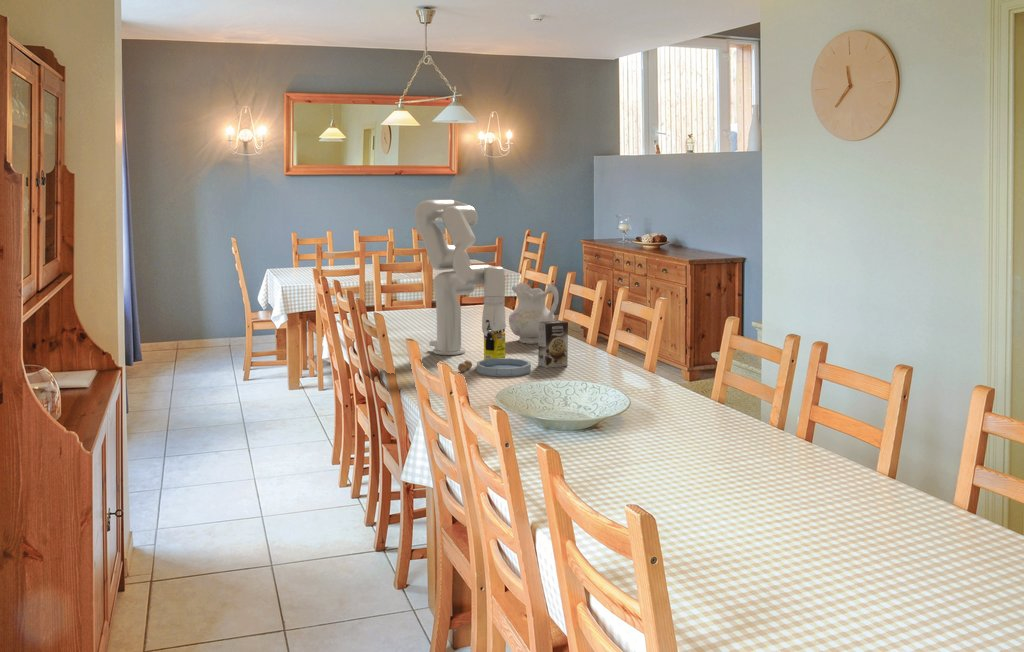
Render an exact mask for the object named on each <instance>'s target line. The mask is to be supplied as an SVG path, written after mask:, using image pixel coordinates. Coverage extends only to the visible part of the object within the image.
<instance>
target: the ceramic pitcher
mask: <svg viewBox="0 0 1024 652" xmlns="http://www.w3.org/2000/svg"><path fill="white" fill-rule="evenodd" d="M511 290H512V292H513V293H515V294H516V297H517V300H518V303H517V306H516V308H514V310H513V311H512V312H510V314H509V316H508V325H509V327H510V330H511V332H512V334H514V335H515V336H517V337H518V338H519V339H518V342H519V343H522V344H525V343H526V344H525V345H529V344H539V322H543V321H556V320H555V314H554V313H555V312H556V310H557V307H558V306H559V305H558V304H559V299H560V298H559V292H558V288H557V286H556V285H555V284H554V283H549V284H547V288H546V290H545V291H544V290H543V289H541V288H539V287H538V288H537V287H534V288H532V287H531V286H530V284H527V283H523V282H519V283H517V284H516V285H513V286H512V287H511ZM549 294H552V295H553V302H552V304H551V306H550V310H549V308H547V305H546V298H547V296H548V295H549Z"/></svg>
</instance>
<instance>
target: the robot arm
mask: <svg viewBox="0 0 1024 652" xmlns="http://www.w3.org/2000/svg"><path fill="white" fill-rule="evenodd" d="M478 216H479V215H478V212H477V211H476V209H475V208H474V207H473V206H472V205H469V204H467V203H463V202H461V201H457V200H454V199H427V200H423V201H421V202H419V203H418V204H417V205H416V208H415V211H414V222H415V226H416V228H417V230H418V232H419V235H420V236H421V238H422V241H423V244H424V247H425V248H424V249H425V250H426V254H427V257H428V260H429V263H430V266H431V267H432V269H434V270H435V271H436V270H437V271H442V272H440V273H438V274H437V275H435V277H434V278H433V281H432V282H433V283H432V285H433V292H434V296H435V297H434V298H435V310H436V312H435V313H436V340H430V341H429V344H428V345H429V346H430V347H434V348H433V350H432V353H433V354H435V355H438V356H439V355H441V356H456V355H463V354H465V353H466V348H464V347H462V307H461V304H460V301H459V300H458V298H457V296H464V295H469V294H472V293H473V292H475V290H476V287H477V286H483V298H484V299H483V301H484V302H483V304H484V305H483V308H482V309H483V310H482V319H481V321H482V322H481V324H482V325H481V330H482V333H483V337H484V336H485V339H486V350H490V351H493V350H494V340H493V336H494V332H504V333H505V332H506V331H505V330H506V328H507V323H506V307H505V303H506V301H505V299H506V298H505V297H506V296H505V295H506V293H505V292H506V289H505V287H506V286H505V285H506V283H505V280H506V277H505V272H506V271H505V269H504V267H502V266H494V265H490V264H472V262H471V259H470V256H469V254H468V252H467V250H468V249H469V248H471V247H472V246H473V245H474V244H475V242H476V239H477V238H476V236H475V234H474V232H473V230H472V228H473V227H475V226H476V225H477V223H478V221H479V217H478ZM437 222H438V223H439V222H441V223H443V224H444V227H445V229H446V232H447V233H448V235H449V238H450V240H451V242H452V244H450V245H449V244H448V242H447V240H446V236H445V234H444V232H443V230H442V229H441V228H440V227H439V226H438V225H437V224H436V223H437ZM449 270H450V271H449ZM443 271H444V272H443ZM489 333H491V335H490V334H489Z"/></svg>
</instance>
